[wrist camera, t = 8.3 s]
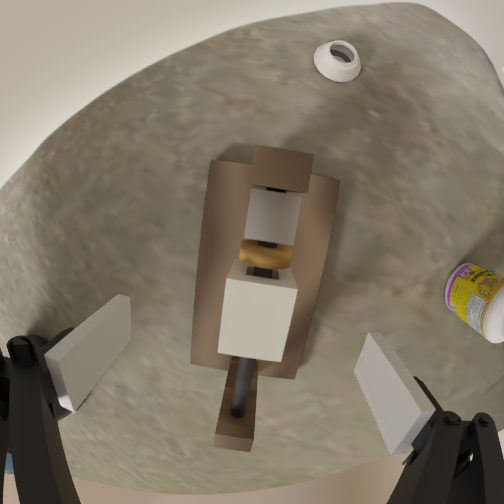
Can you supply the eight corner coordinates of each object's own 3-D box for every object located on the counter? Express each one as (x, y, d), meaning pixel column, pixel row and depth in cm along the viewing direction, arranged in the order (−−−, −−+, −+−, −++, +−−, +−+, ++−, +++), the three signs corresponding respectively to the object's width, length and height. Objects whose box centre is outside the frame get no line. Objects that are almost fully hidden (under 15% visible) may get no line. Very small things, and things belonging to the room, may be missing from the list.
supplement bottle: (480, 261, 26) (547, 292, 13) (471, 307, 27) (529, 350, 15) (447, 261, 26) (519, 299, 14) (437, 312, 28) (497, 364, 15)
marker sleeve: (226, 321, 20) (217, 352, 16) (235, 258, 19) (226, 278, 15) (278, 329, 20) (280, 362, 16) (291, 267, 19) (297, 289, 15)
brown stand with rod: (193, 356, 30) (160, 434, 18) (214, 161, 25) (169, 137, 13) (293, 371, 30) (303, 455, 18) (335, 180, 25) (392, 174, 13)
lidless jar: (306, 70, 23) (350, 91, 23) (310, 58, 20) (359, 81, 20) (321, 39, 22) (363, 58, 22) (326, 26, 19) (372, 47, 19)
